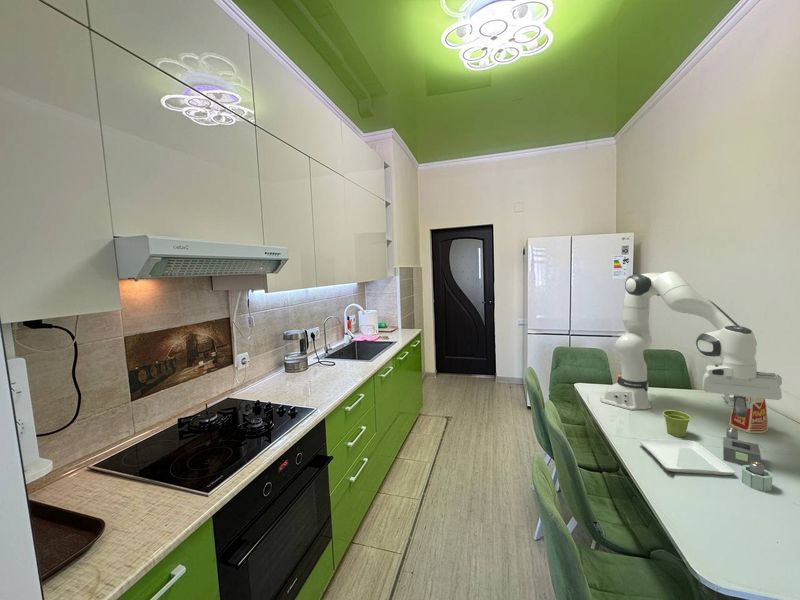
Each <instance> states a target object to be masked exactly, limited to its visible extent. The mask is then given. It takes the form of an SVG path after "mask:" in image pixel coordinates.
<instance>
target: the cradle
mask: <svg viewBox="0 0 800 600" xmlns="http://www.w3.org/2000/svg"><path fill="white" fill-rule="evenodd" d="M722 440H723V441H722V451H723V452H722V455H723V456H722V457H723V462H728V463H733V464H737V465H740V466H743V465H750V462H751V461H754V462H759V463H761V461H762V460H761V458H762V457H761V456H762V455H761V450H760V446H759V443H753V442H750V441H744V440H740V439H738V440H736V439H731V438H727V437H726V436H723V438H722ZM733 446H737V447H733ZM738 447H741V448H738ZM742 448H746V449H748V450H746V449H742Z"/></svg>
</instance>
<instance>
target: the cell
mask: <svg viewBox="0 0 800 600" xmlns="http://www.w3.org/2000/svg"><path fill="white" fill-rule="evenodd" d="M733 398H734V415H736V416H739V417H746V397H744V396H736V395H734V396H733Z"/></svg>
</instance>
